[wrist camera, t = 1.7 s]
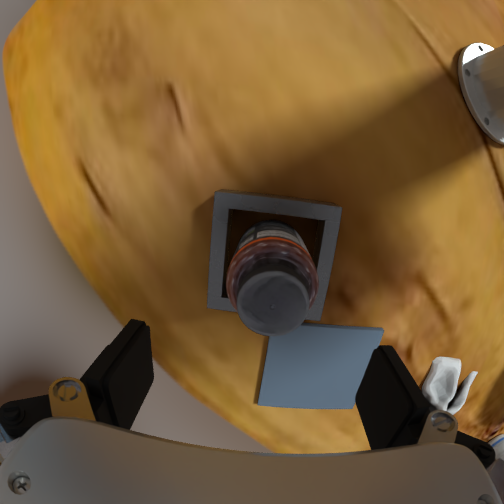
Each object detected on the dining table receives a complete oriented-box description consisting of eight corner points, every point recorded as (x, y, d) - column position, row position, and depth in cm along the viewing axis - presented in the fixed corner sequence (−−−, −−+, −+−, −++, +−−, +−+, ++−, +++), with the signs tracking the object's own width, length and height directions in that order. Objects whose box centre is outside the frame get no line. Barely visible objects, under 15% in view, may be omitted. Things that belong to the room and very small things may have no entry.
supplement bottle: (287, 290, 27) (297, 364, 16) (229, 266, 27) (202, 331, 16) (314, 233, 25) (346, 280, 14) (253, 207, 25) (240, 236, 14)
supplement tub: (473, 452, 36) (493, 494, 22) (504, 427, 34) (528, 466, 20) (475, 461, 38) (493, 499, 24) (504, 439, 36) (524, 474, 22)
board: (382, 327, 28) (384, 330, 27) (351, 405, 31) (352, 408, 30) (272, 319, 28) (272, 322, 27) (257, 401, 31) (257, 405, 31)
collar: (334, 203, 24) (342, 207, 22) (315, 305, 27) (320, 320, 24) (221, 189, 25) (214, 191, 22) (213, 294, 27) (206, 307, 25)
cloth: (392, 455, 35) (400, 481, 30) (340, 418, 33) (348, 452, 27) (495, 379, 30) (511, 400, 24) (473, 316, 27) (499, 339, 21)
